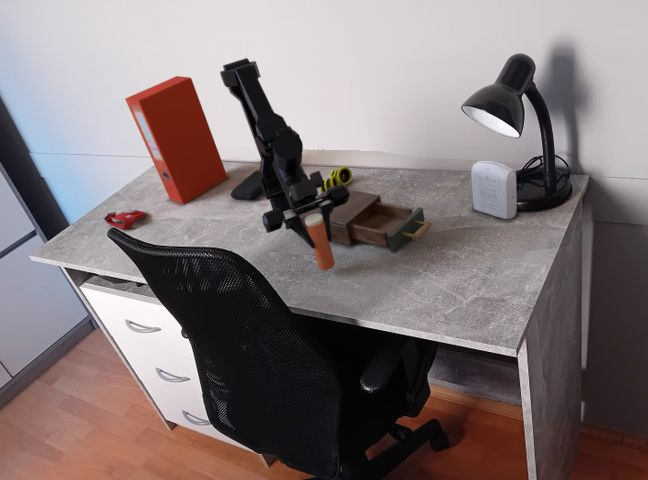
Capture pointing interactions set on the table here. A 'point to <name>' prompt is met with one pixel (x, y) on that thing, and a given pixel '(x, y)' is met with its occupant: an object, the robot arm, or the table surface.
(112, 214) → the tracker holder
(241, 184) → the carrying case
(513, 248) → the table surface
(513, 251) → the table surface
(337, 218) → the organiser
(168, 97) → the file binder
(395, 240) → the drawer
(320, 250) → the tube
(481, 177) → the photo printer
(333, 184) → the opera glasses
